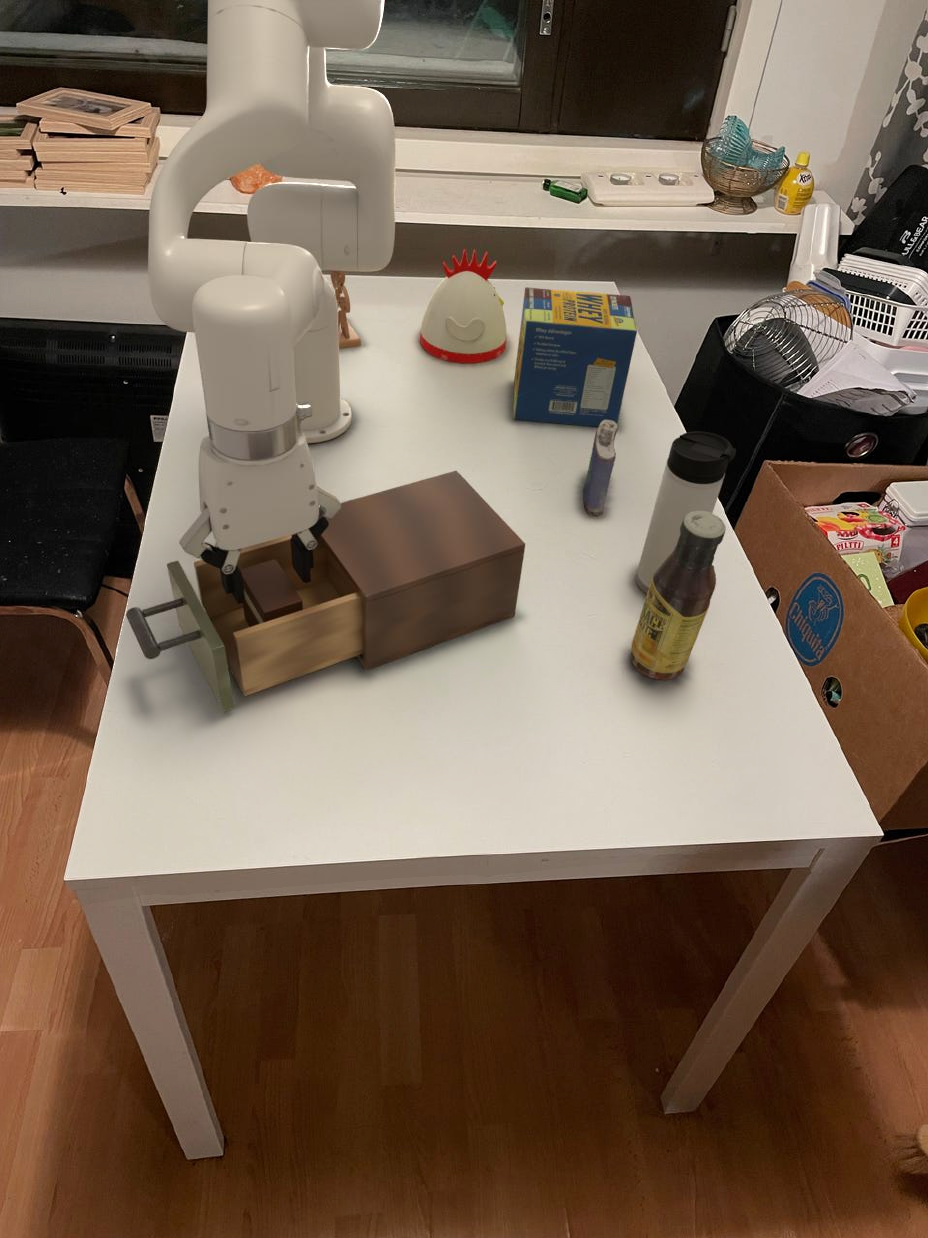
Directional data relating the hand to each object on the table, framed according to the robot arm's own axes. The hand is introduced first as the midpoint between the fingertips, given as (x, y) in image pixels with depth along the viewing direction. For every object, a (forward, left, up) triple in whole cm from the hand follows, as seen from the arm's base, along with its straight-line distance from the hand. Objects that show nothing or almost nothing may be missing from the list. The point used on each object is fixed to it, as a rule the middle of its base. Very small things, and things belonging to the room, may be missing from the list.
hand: (269, 583), depth 91 cm
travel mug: (+10, +45, -10) cm, 47 cm away
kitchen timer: (-51, +53, -10) cm, 74 cm away
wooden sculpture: (-61, +36, -10) cm, 71 cm away
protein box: (-28, +57, -10) cm, 64 cm away
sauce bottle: (+20, +36, -10) cm, 42 cm away
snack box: (0, 0, -8) cm, 8 cm away
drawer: (0, -2, -9) cm, 9 cm away
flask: (-8, +48, -10) cm, 49 cm away
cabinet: (0, +16, -10) cm, 19 cm away
